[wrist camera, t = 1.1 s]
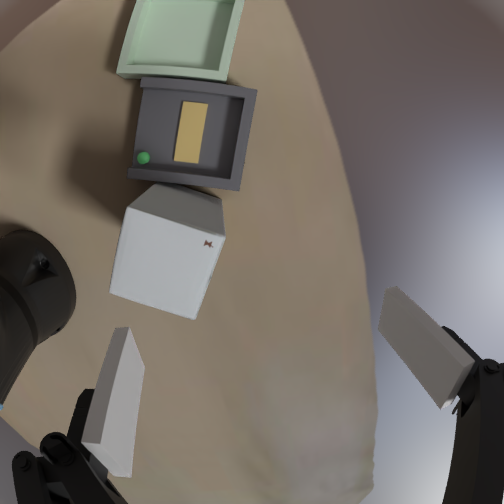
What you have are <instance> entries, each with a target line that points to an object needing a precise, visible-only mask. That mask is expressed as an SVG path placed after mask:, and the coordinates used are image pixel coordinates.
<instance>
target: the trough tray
mask: <svg viewBox="0 0 504 504" xmlns="http://www.w3.org/2000/svg"><path fill="white" fill-rule="evenodd" d="M244 1H245V0H137V1H136V4H135V7H134V10H133V13H132V16H131V19H130V22H129V25H128V29H127V32H126V36H125V39H124V43H123V47H122V50H121V54H120V58H119V62H118V67H117V71H116V74H118V75H119V76H121V77H123V78H124V79H142V77H154V78H171V79H184V80H194V81H203V82H212V83H219V84H226V80H227V75H228V70H229V65H230V61H231V56H232V51H233V47H234V42H235V38H236V34H237V29H238V25H239V21H240V17H241V13H242V9H243V5H244Z"/></svg>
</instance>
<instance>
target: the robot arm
mask: <svg viewBox="0 0 504 504" xmlns="http://www.w3.org/2000/svg"><path fill="white" fill-rule="evenodd" d="M75 304H76V290H75V285H74V281H73V278H72V275H71V272H70V270H69V268H68V266H67V264H66V262H65V261H64V259H63V257H62V256H61V255H60V253H59V252H58V251H57V250H56V248H55V247H54V246H53V245H52V244H51V243H49V242H48V241H47V240H46V239H44V238H43V237H41V236H40V235H38V234H36V233H33V232H30V231H26V230H18V231H14V232H11V233H9V234H8V235H6V236H4V237H3V238H1V239H0V410H2V408H3V406H2V405H3V403H4V401H5V399H6V397H7V395H8V393H9V392H10V390H11V388H12V386H13V384H14V382H15V381H16V379H17V377H18V375H19V374H20V372H21V370H22V369H23V367H24V365H25V363H26V362H27V360H28V359H29V357H30V355H31V353H32V352H33V350H34V349H35V347H36V346H37V345H38V344H40V343H42V342H43V341H45V340H46V339H48V338H49V337H50V336H52V335H55V334H56V333H58V332H59V331H61V330H62V329H63V328H64V327H65V325H66V324H67V322H68V321H69V319H70V318H71V316H72V314H73V312H74V309H75ZM378 330H379V332H380V333H381V334H382V335H383V336H384V338H385V339H386V340H387V341H388V342H389V344H390V345H391V346H392V348H393V349H394V350H395V351H396V352H397V354H398V355H399V356H400V358H401V359H402V360H403V361H404V363H405V364H406V365H407V366H408V368H409V369H410V370H411V372H412V373H413V374H414V375H415V377H416V378H417V379H418V380H419V382H420V383H421V384H422V386H423V387H424V388H425V390H426V391H427V392H428V394H429V395H430V396H431V397H432V399H433V400H434V402H435V403H436V404H437V406H438V407H439V408H440V410H441V409H443V408H444V407H446V406H448V405H450V404H452V402H453V401H454V399H455V397H456V396H457V395H458V396H459V398H460V400H459V402H458V403H457V405H456V407H455V408H454V409H453V412H452V414H454V413H455V411H456V410H457V409H458V410H457V423H456V432H455V440H454V448H453V454H452V460H451V466H450V472H449V477H448V482H447V486H446V490H445V494H444V499H443V502H442V504H502V500H503V493H504V363H500V364H499V363H498V362H496V361H494V360H492V359H484V360H482V359H481V358H480V357H479V356H478V355H477V354H476V353H475V352H474V351H473V350H472V349H471V348H470V347H469V346H468V345H467V344H466V343H464V341H463V340H462V339H461V338H459V336H458V335H457V334H456V333H455V332H454V331H453V330H451V329H449V328H447V327H445V326H442V327H440V326H439V325H438V324H437V323H436V322H435V321H434V320H433V319H432V318H431V317H430V316H429V315H428V314H427V313H426V312H425V311H423V310H422V309H421V308H420V307H419V306H418V305H417V304H416V303H415V302H414V301H413V300H411V299H410V298H409V297H408V296H407V295H406V294H405V293H404V292H403V291H401V290H400V289H399V288H398V287H397V286H395V287H391V288H386V289H385V294H384V300H383V306H382V311H381V316H380V321H379V326H378ZM144 371H145V366H144V364H143V361H142V359H141V356H140V354H139V351H138V349H137V346H136V343H135V341H134V338H133V335H132V332H131V330H130V327H122V328H115V330H114V333H113V336H112V339H111V342H110V344H109V347H108V350H107V353H106V356H105V359H104V362H103V365H102V368H101V371H100V375H99V378H98V381H97V384H96V388H95V389H85V390H84V391H83V392H82V393H81V395H80V396H79V397H78V400H77V403H76V406H75V407H76V409H75V410H74V413H73V416H72V419H71V423H70V426H69V430H68V433H67V437H66V436H65V435H64V434H62V433H60V432H52V433H49V434H48V435H46V436H45V437H44V438H43V439H42V441H41V443H40V452H41V454H42V455H43V457H35V456H34V455H33V454H32V453H31V452H28V451H21V452H19V453H17V454H16V455H15V456H14V458H13V461H12V471H13V477H14V485H15V491H16V496H17V501H18V504H128V503H127V502H126V501H125V499H124V498H123V497H122V496H121V494H120V493H119V492H118V491H117V489H116V488H115V487H114V485H113V484H112V483H111V481H110V480H109V479H108V478H107V474H108V471H109V472H110V473H111V474H112V475H113V476H119V477H131V476H132V463H133V452H134V443H135V434H136V425H137V417H138V410H139V403H140V396H141V389H142V383H143V377H144Z"/></svg>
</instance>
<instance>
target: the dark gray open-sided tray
mask: <svg viewBox="0 0 504 504" xmlns="http://www.w3.org/2000/svg"><path fill="white" fill-rule="evenodd" d="M140 87H141V88H142V89H144V90H143V95H142V101H141V106H140V112H139V118H138V124H137V131H136V138H135V146H134V154H133V162H132V167H129V168H128V170H127V178H128V179H140V180H150V181H160V182H169V183H179V184H187V185H196V186H204V187H211V188H219V189H226V190H233V191H239V189H240V184H241V178H242V172H243V166H244V161H245V155H246V149H247V144H248V138H249V133H250V127H251V122H252V117H253V111H254V106H255V101H256V95H257V90H256V89H250V88H245V87H239V86H233V85H226V84H219V83H212V82H203V81H194V80H184V79H171V78H154V77H142V79H141V83H140Z"/></svg>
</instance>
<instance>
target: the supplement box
mask: <svg viewBox="0 0 504 504" xmlns="http://www.w3.org/2000/svg"><path fill="white" fill-rule="evenodd" d="M225 239H226V234H225V225H224V216H223V206H222V200H221V199H219V198H216V197H213V196H210V195H207V194H204V193H201V192H198V191H195V190H192V189H189V188H186V187H183V186H180V185H178V184H175V183H169V182H160V181H157V182H156V183H155V184H154V185H152V186H151V187H150V188H149V189H148V190H146V191H145V192H144V193H143V194H142V195H140V196H139V197H138V198H137V199H136V200H135V201H133V202H132V203H131V204H130V205H129V206H127V208H126V211H125V215H124V218H123V222H122V226H121V231H120V235H119V240H118V244H117V249H116V254H115V259H114V264H113V270H112V275H111V282H110V289H109V293H111V294H114V295H117V296H120V297H123V298H126V299H129V300H132V301H135V302H138V303H141V304H144V305H147V306H150V307H154V308H157V309H160V310H163V311H166V312H169V313H172V314H175V315H179V316H182V317H185V318H189V319H192V320H195V319H196V317H197V314H198V311H199V309H200V306H201V303H202V300H203V297H204V295H205V292H206V289H207V287H208V284H209V282H210V279H211V276H212V273H213V270H214V267H215V265H216V262H217V259H218V257H219V254H220V251H221V249H222V246H223V244H224V241H225Z"/></svg>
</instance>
